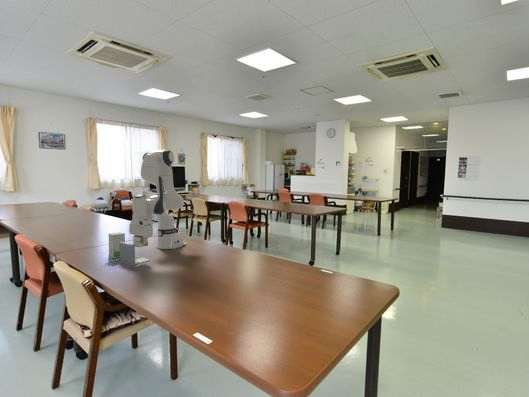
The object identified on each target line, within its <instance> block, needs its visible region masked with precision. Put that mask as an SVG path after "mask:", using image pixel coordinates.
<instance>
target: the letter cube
mask: <svg viewBox="0 0 529 397" xmlns="http://www.w3.org/2000/svg"><path fill="white" fill-rule="evenodd" d="M132 237H133V238H132V239H133V240H132V241H133V245H135V248H143V247H147V246H149V241H148V240H149V237H147V240H146V243H145V244H143V243H142V241H143V239H144V238H143V236H134V235H133V236H132Z"/></svg>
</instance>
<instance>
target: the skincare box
mask: <svg viewBox="0 0 529 397" xmlns="http://www.w3.org/2000/svg"><path fill="white" fill-rule="evenodd" d="M119 242H125V243H126V233H125V232H121V231H119V232H112V233H108V257H109V258H111V259H118V258H120V244H119Z"/></svg>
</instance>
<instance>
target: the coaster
mask: <svg viewBox="0 0 529 397" xmlns="http://www.w3.org/2000/svg"><path fill="white" fill-rule="evenodd" d="M135 262H138V264H142V263H146V262H150V259H149V258H145V257H141V258H137V259H135Z"/></svg>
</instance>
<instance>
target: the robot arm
mask: <svg viewBox="0 0 529 397" xmlns="http://www.w3.org/2000/svg"><path fill="white" fill-rule="evenodd" d="M174 161H175V156H174V152H172V151H171V150H170V149H158V150H152V151H146V152H145V153H144V154H143V155H142V162H141V167H140V177H141V179H142V180H143V181H145V182H146V183H148V184H150V185H154V186H155V187H156V195H152V196H149V197H147V195H146V194H142V193H141V194H135V195H133V197H132V203H131V206H132V207H131V209H132V215H131V216H132V219H131V220H130V223H129V226H128V228H129V229H128V232H129V234H130V235H133V237H134V236H143V238H144V239H143V241H142V243H143V244H145V243H146V240H147V237H148V238H150V237H153V235H154V231H153V230H154V229H153V228H154V227H153V224H154V221H153V220H152V219H151V218H150V217H149V215H155V216H156V218H157V224H158V226H157V227H158V228H157V235H158V236H157V243H156V249H160V250H168V249H171V250H172V249H173V250H175V249H178V248H181V247H184V246H186V245H187V242H185V241H184V237H183V236H182V235H181V234H180V233H178V232H177V231H179V228H178V227H175V218H174V217H173V216H172V215H171V214H168V213H167V212H166V211H168V210H169V211H171V210H173V211H174V210H178V209H182V208H183V206H184V204H185V200H184V197H183V196H182V195H180V194H179V193H178V192H177V191H176V189H175V186H174V174H173V168H172V164H173V163H174ZM165 193H166V194H165ZM183 245H184V246H183Z"/></svg>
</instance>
